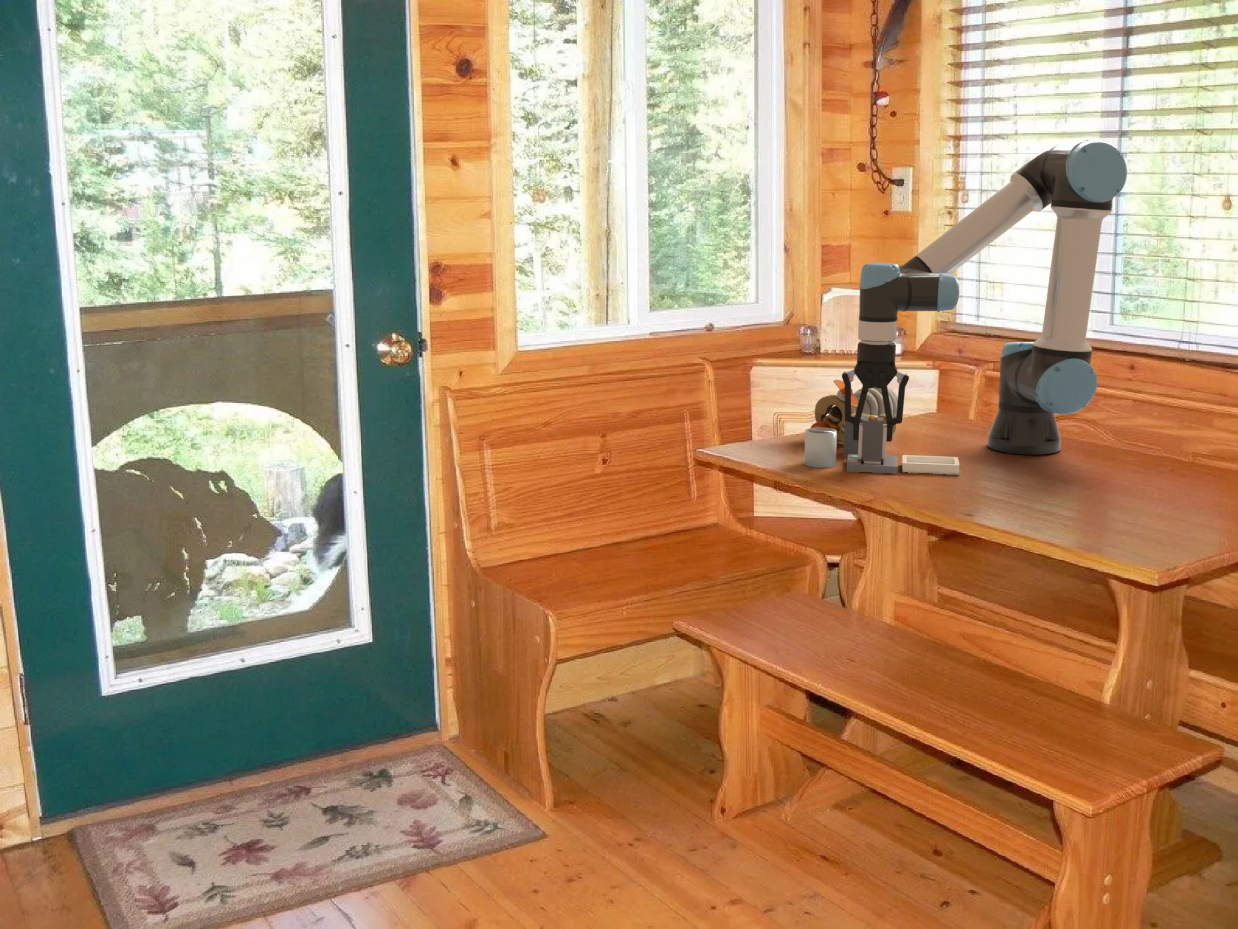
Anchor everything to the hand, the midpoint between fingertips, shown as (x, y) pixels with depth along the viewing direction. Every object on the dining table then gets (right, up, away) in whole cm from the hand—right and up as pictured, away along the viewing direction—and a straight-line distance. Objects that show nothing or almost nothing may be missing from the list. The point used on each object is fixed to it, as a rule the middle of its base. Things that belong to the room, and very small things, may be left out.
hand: (871, 456), depth 286 cm
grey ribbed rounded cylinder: (+6, +5, +34) cm, 35 cm away
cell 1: (-2, +1, +13) cm, 13 cm away
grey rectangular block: (0, -2, +1) cm, 2 cm away
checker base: (0, -2, +1) cm, 2 cm away
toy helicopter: (-1, +2, +21) cm, 21 cm away
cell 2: (0, 0, 0) cm, 0 cm away
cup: (-10, -2, +3) cm, 11 cm away
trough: (+12, -3, -1) cm, 12 cm away
